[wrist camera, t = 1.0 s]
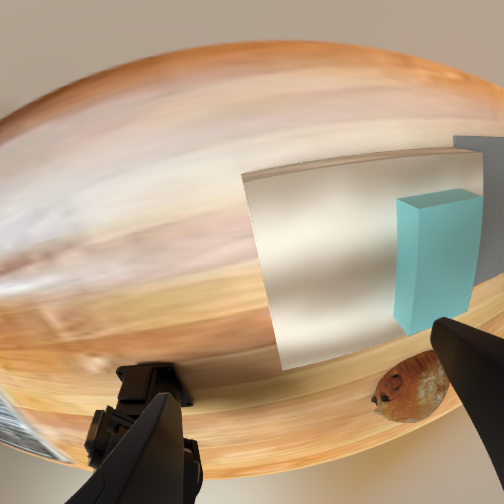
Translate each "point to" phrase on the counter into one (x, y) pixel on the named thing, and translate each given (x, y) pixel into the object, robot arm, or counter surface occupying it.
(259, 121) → the counter surface
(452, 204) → the teal rectangular block
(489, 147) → the mat
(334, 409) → the counter surface
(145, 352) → the counter surface
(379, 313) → the board
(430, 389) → the brown rounded dome
